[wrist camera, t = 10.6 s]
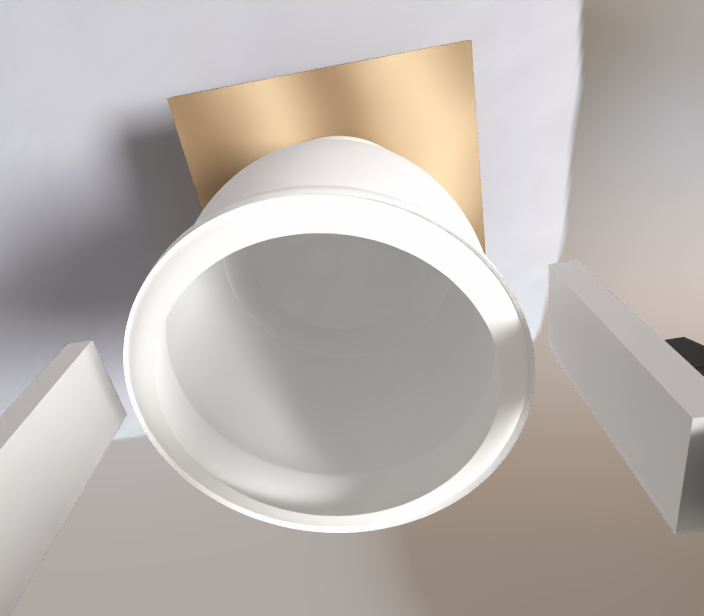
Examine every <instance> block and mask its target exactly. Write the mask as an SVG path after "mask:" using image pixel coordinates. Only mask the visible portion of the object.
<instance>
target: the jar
mask: <svg viewBox="0 0 704 616" xmlns="http://www.w3.org/2000/svg"><path fill="white" fill-rule="evenodd" d="M123 361H124V373H125V380H126V385H127V389H128V393H129V397H130V400H131V403H132V406H133V408H134V411H135V413H136V415H137V418H138V420H139V422H140V424H141V426H142V427H143V429H144V431H145V433H146V434H147V436H148V437H149V439H150V440H151V442H152V443H153V445H154V446H155V447H156V449H157V450H158V451H159V453H160V454H161V455H162V456H163V457H164V459H165V460H166V461H167V462H168V463H169V464H170V465H171V466H172V467H173V468H174V469H175V470H176V471H177V472H178V473H179V474H180V475H181V476H183V477H184V478H185V479H186V480H187V481H189V482H190V483H191V484H193V485H194V486H195V487H197V488H198V489H199V490H201V491H202V492H204V493H205V494H207V495H208V496H210V497H211V498H213V499H215V500H216V501H218V502H220V503H222V504H224V505H226V506H227V507H230V508H232V509H234V510H236V511H238V512H240V513H243V514H245V515H248V516H250V517H253V518H255V519H258V520H261V521H265V522H268V523H272V524H275V525H279V526H284V527H288V528H293V529H299V530H306V531H314V532H329V533H348V532H362V531H371V530H378V529H384V528H389V527H393V526H397V525H401V524H405V523H408V522H411V521H415V520H417V519H420V518H423V517H425V516H428V515H430V514H433V513H435V512H437V511H439V510H441V509H443V508H445V507H447V506H449V505H451V504H452V503H454V502H456V501H457V500H459V499H460V498H462V497H464V496H465V495H466V494H468V493H469V492H471V491H472V490H473V489H475V488H476V487H477V486H478V485H480V484H481V483H482V482H483V481H484V480H485V479H486V478H487V477H488V476H489V475H490V474H491V473H492V472H493V471H494V470H495V469H496V468H497V467H498V466H499V465H500V463H501V462H502V461H503V460H504V458H505V457H506V456H507V454H508V453H509V452H510V450H511V449H512V447H513V446H514V444H515V442H516V441H517V439H518V437H519V435H520V433H521V431H522V429H523V426H524V424H525V421H526V419H527V416H528V413H529V410H530V406H531V402H532V397H533V392H534V384H535V357H534V349H533V343H532V339H531V335H530V331H529V328H528V325H527V322H526V319H525V316H524V314H523V312H522V310H521V307H520V305H519V303H518V301H517V300H516V298H515V296H514V294H513V293H512V291H511V289H510V288H509V286H508V285H507V283H506V282H505V280H504V279H503V277H502V276H501V274H500V273H499V271H498V270H497V268H496V267H495V266H494V265H493V263H492V262H491V261H490V260H489V259H488V258H487V257H486V255H485V254H484V253H483V250H482V247H481V245H480V243H479V240H478V238H477V236H476V234H475V232H474V230H473V228H472V226H471V225H470V223H469V221H468V219H467V218H466V216H465V215H464V213H463V212H462V210H461V209H460V207H459V206H458V205H457V203H456V202H455V201H454V200H453V198H452V197H451V196H450V195H449V194H448V193H447V191H446V190H445V189H444V188H443V187H442V186H441V185H440V184H439V183H438V182H437V181H436V180H435V179H433V178H432V177H431V176H430V175H429V174H427V173H426V172H425V171H424V170H422V169H421V168H420V167H418V166H417V165H415V164H414V163H412V162H410V161H409V160H407V159H405V158H404V157H402V156H400V155H398V154H396V153H394V152H391V151H389V150H387V149H385V148H383V147H381V146H379V145H377V144H375V143H373V142H370V141H367V140H364V139H361V138H356V137H350V136H328V137H322V138H318V139H314V140H311V141H307V142H302V143H298V144H294V145H290V146H287V147H284V148H281V149H279V150H276V151H274V152H272V153H270V154H267V155H265V156H263V157H262V158H260V159H258V160H256V161H255V162H253V163H251V164H250V165H248V166H247V167H245V168H244V169H243V170H241V171H240V172H239V173H237V174H236V175H235V176H234V177H233V178H231V179H230V180H229V181H228V182H227V183H226V184H225V185H224V186H223V187H222V188H221V189H220V190H219V191H218V192H217V193H216V194H215V196H214V197H213V198H212V199H211V200H210V202H209V203H208V204H207V205H206V207H205V208H204V210H203V211H202V212H201V214H200V215H199V217H198V219H197V220H196V222H195V223H194V225H193V226H191V227H190V228H189V229H188V230H186V231H185V232H184V233H183V234H181V235H180V236H179V237H178V238H177V239H176V240H175V241H174V242H173V243H172V244H171V245H170V246H169V247H168V248H167V250H166V251H165V252H164V253H163V254H162V255H161V256H160V258H159V259H158V260H157V262H156V263H155V264H154V266H153V267H152V269H151V270H150V272H149V274H148V275H147V277H146V279H145V281H144V283H143V285H142V287H141V288H140V290H139V292H138V294H137V296H136V299H135V301H134V303H133V306H132V309H131V312H130V315H129V318H128V322H127V326H126V331H125V338H124V350H123Z"/></svg>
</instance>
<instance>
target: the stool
mask: <svg viewBox="0 0 704 616" xmlns="http://www.w3.org/2000/svg"><path fill="white" fill-rule="evenodd" d="M167 100H168V103H169V106H170V109H171V113H172V116H173V119H174V122H175V126H176V129H177V132H178V135H179V139H180V142H181V145H182V148H183V152H184V155H185V158H186V161H187V165H188V168H189V171H190V174H191V178H192V181H193V184H194V187H195V191H196V194H197V197H198V200H199V204H200V207H201V210H202V211H203V210H204V208H205V207H206V205H207V204H208V203H209V202H210V200H211V199H212V198H213V197H214V196H215V194H216V193H217V192H218V191H219V190H220V189H221V188H222V187H223V186H224V185H225V184H226V183H227V182H228V181H229V180H230V179H231V178H233V177H234V176H235V175H236V174H237V173H239V172H240V171H241V170H243V169H244V168H245V167H247V166H248V165H250V164H251V163H253V162H255V161H256V160H258V159H260V158H262V157H263V156H265V155H267V154H270V153H272V152H274V151H276V150H279V149H281V148H284V147H287V146H290V145H294V144H298V143H302V142H307V141H311V140H314V139H318V138H322V137H328V136H350V137H356V138H361V139H364V140H367V141H370V142H373V143H375V144H377V145H379V146H381V147H383V148H385V149H387V150H389V151H391V152H394V153H396V154H398V155H400V156H402V157H404V158H405V159H407V160H409V161H410V162H412V163H414V164H415V165H417V166H418V167H420V168H421V169H422V170H424V171H425V172H426V173H427V174H429V175H430V176H431V177H432V178H433V179H435V180H436V181H437V182H438V183H439V184H440V185H441V186H442V187H443V188H444V189H445V190H446V191H447V193H448V194H449V195H450V196H451V197H452V198H453V200H454V201H455V202H456V203H457V205H458V206H459V207H460V209H461V210H462V212H463V213H464V215H465V216H466V218H467V219H468V221H469V223H470V225H471V226H472V228H473V230H474V232H475V234H476V236H477V238H478V240H479V243H480V245H481V247H482V250H483V253H484V254H485V239H484V224H483V209H482V194H481V179H480V163H479V148H478V133H477V118H476V102H475V87H474V72H473V57H472V42H471V40H466V41H460V42H455V43H450V44H445V45H440V46H434V47H429V48H424V49H419V50H414V51H408V52H403V53H398V54H393V55H388V56H382V57H377V58H372V59H367V60H362V61H356V62H351V63H346V64H341V65H336V66H330V67H325V68H320V69H315V70H310V71H304V72H299V73H294V74H289V75H284V76H278V77H273V78H268V79H263V80H258V81H252V82H247V83H242V84H237V85H232V86H226V87H221V88H216V89H211V90H206V91H200V92H195V93H190V94H185V95H180V96H175V97H171V98H167Z"/></svg>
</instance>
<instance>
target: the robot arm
mask: <svg viewBox="0 0 704 616" xmlns="http://www.w3.org/2000/svg"><path fill="white" fill-rule="evenodd" d="M549 350H550V351H551V352H552V354H553V355H554V357H555V358H556V360H557V361H558V363H559V364H560V366H561V367H562V369H563V370H564V372H565V373H566V375H567V376H568V378H569V379H570V381H571V382H572V384H573V385H574V386H575V388H576V389H577V391H578V392H579V394H580V395H581V397H582V398H583V400H584V401H585V403H586V404H587V406H588V407H589V409H590V410H591V412H592V413H593V414H594V416H595V417H596V419H597V420H598V422H599V423H600V425H601V426H602V428H603V429H604V431H605V432H606V434H607V435H608V437H609V438H610V439H611V441H612V443H613V444H614V446H615V447H616V448H617V450H618V451H619V453H620V454H621V456H622V457H623V459H624V460H625V462H626V463H627V465H628V466H629V468H630V469H631V471H632V472H633V473H634V475H635V476H636V478H637V479H638V481H639V482H640V484H641V485H642V487H643V488H644V490H645V491H646V493H647V494H648V496H649V497H650V499H651V500H652V501H653V503H654V504H655V506H656V507H657V509H658V510H659V512H660V513H661V515H662V516H663V518H664V519H665V521H666V522H667V524H668V525H669V527H670V528H671V530H672V531H673V533H674V534H675V535H681V534H689V533H695V532H704V346H703V345H701V344H699V343H697V342H694V341H692V340H690V339H687V338H685V337H681V338H674V339H668V340H663V339H662V338H661V337H660V336H659V335H658V334H657V333H656V332H655V331H654V330H652V328H650V327H649V326H648V325H647V324H646V323H645V322H644V321H643V320H642V319H641V318H640V317H639V316H637V315H636V314H635V313H634V312H633V311H632V310H631V309H630V308H629V307H628V306H627V305H625V304H624V303H623V302H622V301H621V300H620V299H619V298H618V297H617V296H616V295H614V293H612V292H611V291H610V290H609V289H608V288H607V287H606V286H605V285H604V284H603V283H602V282H601V281H599V280H598V279H597V278H596V277H595V276H594V275H593V274H592V273H591V272H589V270H588V269H586V268H585V267H584V266H583V265H582V264H581V263H580V262H579V261H578V260H572V261H566V262H560V263H554V264H549ZM126 415H127V414H126V412H125V410H124V408H123V405H122V403H121V401H120V399H119V397H118V395H117V392H116V390H115V388H114V386H113V384H112V381H111V379H110V377H109V375H108V373H107V371H106V368H105V366H104V364H103V362H102V360H101V358H100V355H99V353H98V351H97V349H96V347H95V345H94V342H93V340H87V341H81V342H75V343H69V344H67V345H66V346H65V347H64V348H63V349H62V350H61V351H60V352H59V353H58V354H57V356H56V357H55V358H54V359H53V360H52V361H51V362H50V363H49V364H48V365H47V367H46V368H45V369H44V370H43V371H42V372H41V373H40V374H39V375H38V376H37V377H36V379H35V380H34V381H33V382H32V383H31V384H30V385H29V386H28V387H27V388H26V390H25V391H24V392H23V393H22V394H21V395H20V396H19V397H18V398H17V399H16V401H15V402H14V403H13V404H12V405H11V406H10V407H9V408H8V409H7V410H6V412H5V413H4V414H3V415H2V416H1V417H0V616H11V614H12V613H13V611H14V609H15V607H16V606H17V604H18V602H19V600H20V599H21V597H22V595H23V593H24V592H25V590H26V588H27V587H28V585H29V583H30V581H31V580H32V578H33V576H34V574H35V573H36V571H37V569H38V567H39V566H40V564H41V562H42V561H43V559H44V557H45V555H46V553H47V552H48V550H49V548H50V547H51V545H52V543H53V542H54V540H55V538H56V536H57V534H58V533H59V531H60V529H61V528H62V526H63V524H64V522H65V521H66V519H67V517H68V516H69V514H70V512H71V510H72V509H73V507H74V505H75V503H76V502H77V500H78V498H79V496H80V495H81V493H82V491H83V490H84V488H85V486H86V484H87V483H88V481H89V479H90V477H91V476H92V474H93V472H94V471H95V469H96V467H97V465H98V464H99V462H100V460H101V458H102V457H103V455H104V453H105V451H106V450H107V448H108V446H109V445H110V443H111V441H112V439H113V438H114V436H115V434H116V432H117V431H118V429H119V427H120V426H121V424H122V422H123V420H124V419H125V417H126Z"/></svg>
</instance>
